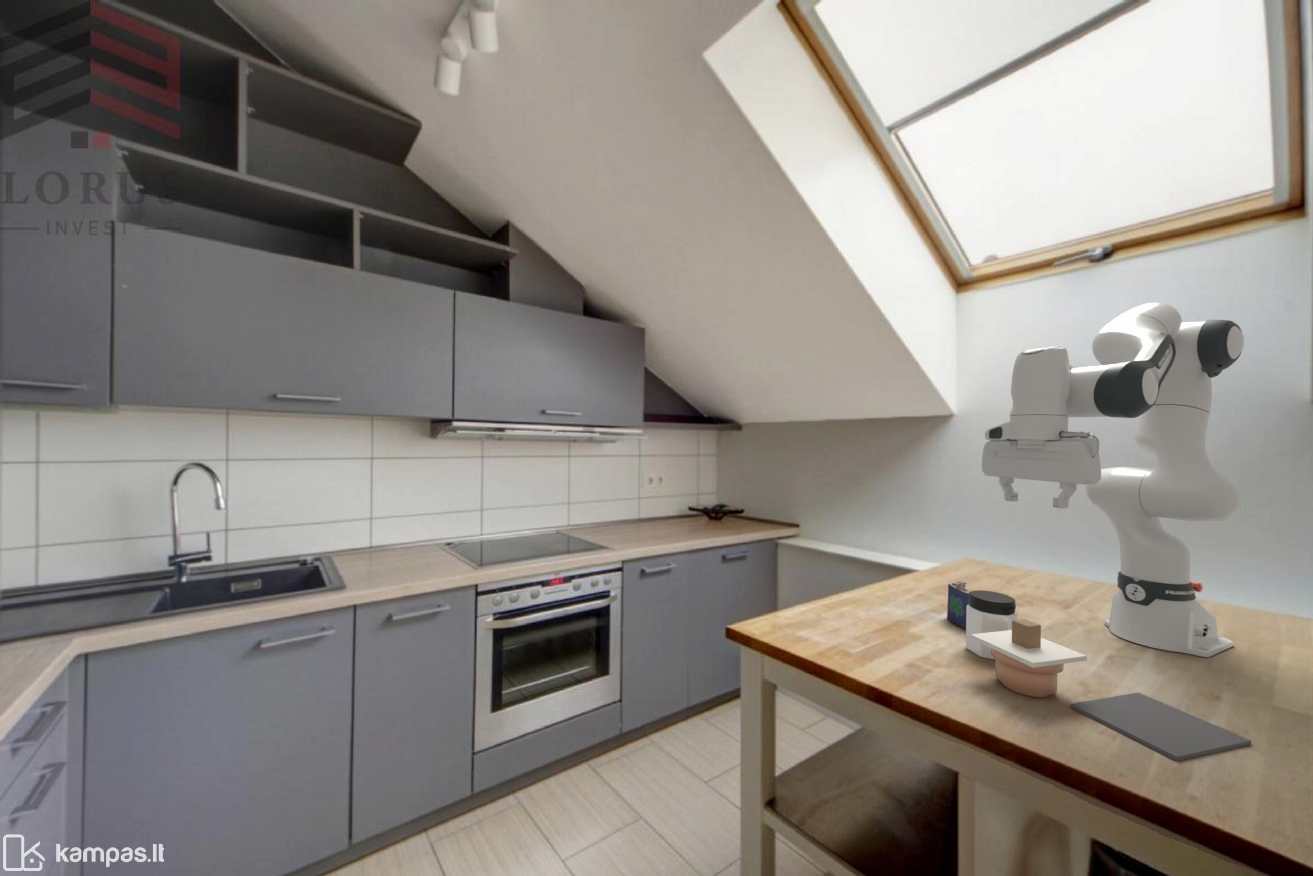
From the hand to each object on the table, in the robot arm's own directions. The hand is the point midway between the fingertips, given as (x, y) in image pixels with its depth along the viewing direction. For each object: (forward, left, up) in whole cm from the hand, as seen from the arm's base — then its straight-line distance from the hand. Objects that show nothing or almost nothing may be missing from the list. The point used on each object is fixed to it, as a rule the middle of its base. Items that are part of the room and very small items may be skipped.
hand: (1034, 504), depth 93 cm
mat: (-4, +17, -33) cm, 37 cm away
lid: (+5, +3, -26) cm, 27 cm away
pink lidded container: (+5, +3, -33) cm, 33 cm away
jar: (-2, -10, -33) cm, 35 cm away
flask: (-9, -24, -33) cm, 42 cm away
